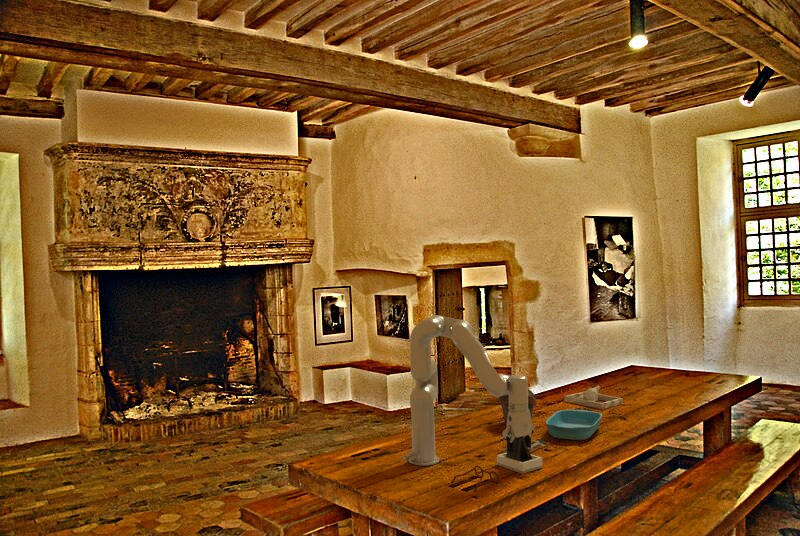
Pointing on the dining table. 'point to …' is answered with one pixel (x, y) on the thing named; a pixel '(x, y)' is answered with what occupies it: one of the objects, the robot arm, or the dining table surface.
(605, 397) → the cheese board rim
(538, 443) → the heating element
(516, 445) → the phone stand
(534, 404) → the brown bucket
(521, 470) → the cream rectangular tray
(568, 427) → the casserole dish
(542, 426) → the dining table surface
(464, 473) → the glasses
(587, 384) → the dining table surface
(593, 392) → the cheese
